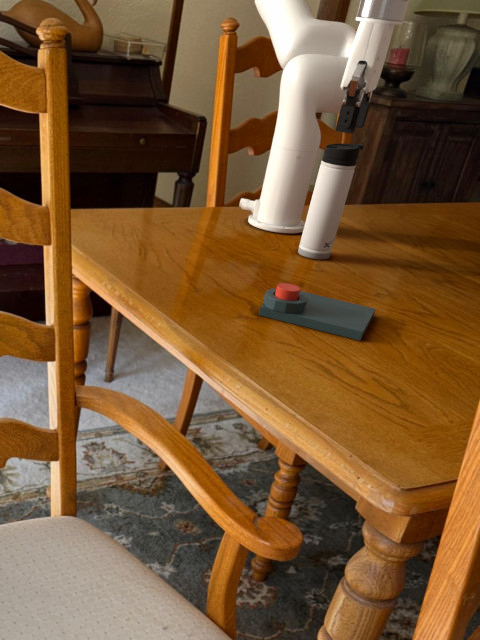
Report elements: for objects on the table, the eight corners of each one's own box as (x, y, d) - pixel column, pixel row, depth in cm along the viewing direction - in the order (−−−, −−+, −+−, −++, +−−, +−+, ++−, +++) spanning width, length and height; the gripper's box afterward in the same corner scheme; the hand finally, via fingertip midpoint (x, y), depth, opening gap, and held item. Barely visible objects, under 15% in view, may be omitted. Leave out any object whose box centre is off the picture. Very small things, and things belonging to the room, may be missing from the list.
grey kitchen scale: (256, 315, 114) (261, 296, 113) (276, 293, 123) (281, 276, 121) (359, 341, 109) (366, 322, 107) (373, 317, 118) (379, 299, 116)
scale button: (271, 298, 113) (274, 287, 112) (277, 292, 116) (280, 281, 115) (294, 304, 112) (297, 292, 111) (299, 297, 115) (302, 286, 114)
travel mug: (332, 262, 141) (365, 147, 128) (298, 257, 141) (328, 143, 129) (329, 253, 146) (361, 142, 133) (296, 248, 146) (325, 137, 134)
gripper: (366, 10, 127) (337, 121, 137) (348, 9, 114) (318, 131, 125) (410, 15, 124) (378, 127, 135) (397, 14, 112) (362, 138, 122)
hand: (349, 129), depth 130 cm, fingers open, 9 cm apart
